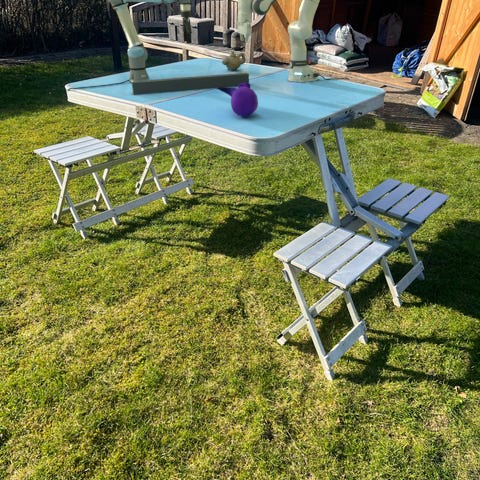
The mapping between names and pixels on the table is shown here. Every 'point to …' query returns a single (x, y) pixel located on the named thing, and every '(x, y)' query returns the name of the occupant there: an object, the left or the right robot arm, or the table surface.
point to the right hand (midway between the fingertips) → (244, 41)
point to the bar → (188, 83)
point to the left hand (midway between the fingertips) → (187, 42)
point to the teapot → (233, 61)
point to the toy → (242, 99)
